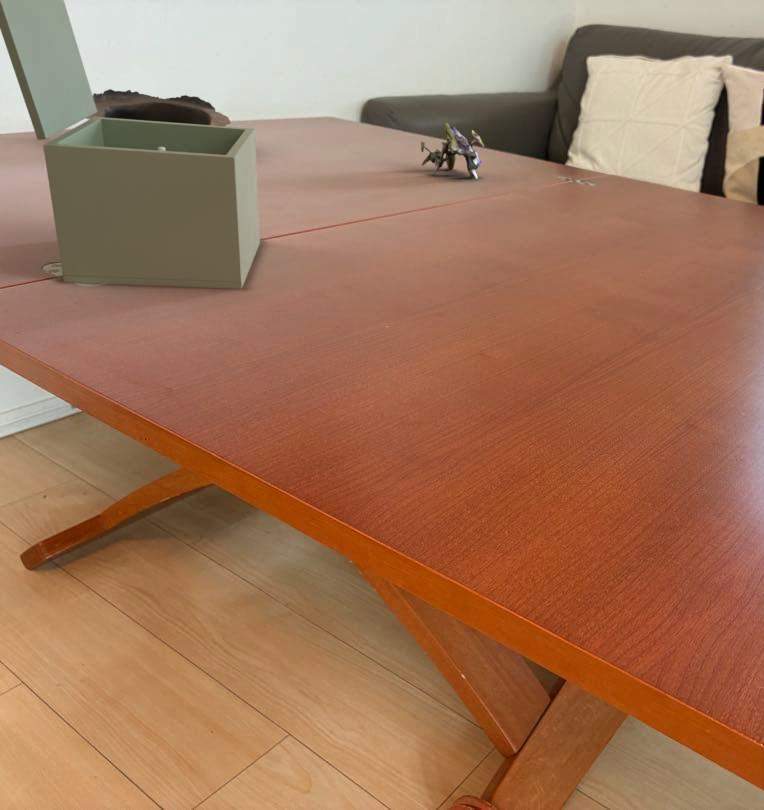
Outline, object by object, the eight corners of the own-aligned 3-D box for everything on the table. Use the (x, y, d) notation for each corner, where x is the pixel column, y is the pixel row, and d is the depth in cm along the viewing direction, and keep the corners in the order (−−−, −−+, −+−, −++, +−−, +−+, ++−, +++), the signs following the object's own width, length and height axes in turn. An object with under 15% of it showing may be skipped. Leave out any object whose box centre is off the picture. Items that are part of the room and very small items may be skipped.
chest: (260, 244, 110) (254, 128, 103) (241, 291, 94) (234, 157, 87) (109, 237, 106) (94, 116, 100) (64, 284, 90) (42, 144, 84)
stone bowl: (129, 132, 164) (128, 81, 160) (253, 158, 163) (255, 109, 159) (45, 150, 142) (41, 92, 138) (187, 181, 141) (188, 124, 137)
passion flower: (470, 208, 161) (494, 164, 152) (415, 196, 157) (437, 150, 147) (465, 164, 167) (488, 119, 157) (412, 151, 162) (432, 104, 153)
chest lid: (42, -73, 91) (33, -72, 90) (-27, -81, 75) (-37, -81, 75) (97, 112, 99) (90, 112, 99) (46, 139, 84) (37, 140, 84)
